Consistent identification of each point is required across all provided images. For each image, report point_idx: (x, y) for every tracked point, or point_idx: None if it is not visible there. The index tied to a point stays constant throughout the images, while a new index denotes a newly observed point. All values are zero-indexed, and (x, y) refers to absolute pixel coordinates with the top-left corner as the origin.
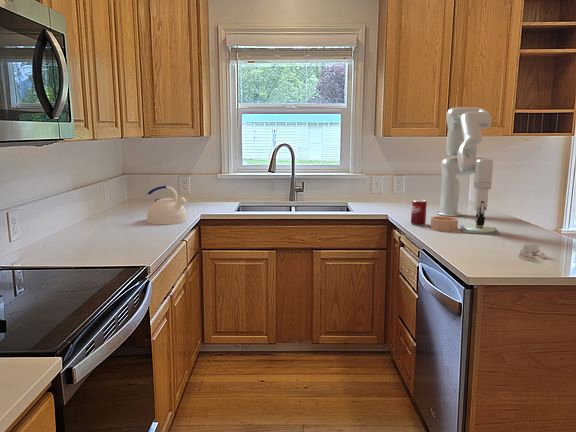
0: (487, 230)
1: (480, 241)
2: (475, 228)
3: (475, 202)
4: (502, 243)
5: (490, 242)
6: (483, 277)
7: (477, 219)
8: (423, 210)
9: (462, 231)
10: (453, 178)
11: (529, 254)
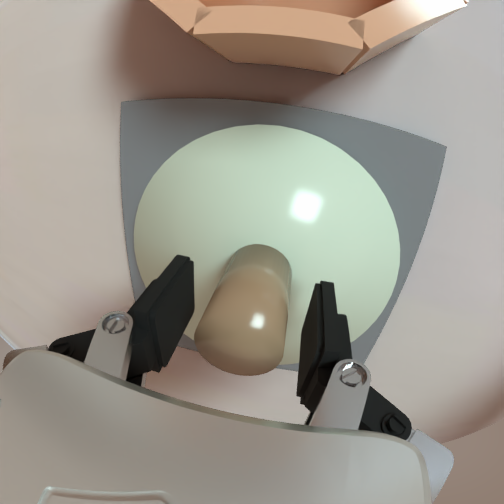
0: None
1: (4, 195)
2: (221, 232)
3: (27, 490)
4: (18, 271)
5: (9, 232)
6: None
7: (150, 289)
8: None
9: (134, 101)
10: None
11: None
